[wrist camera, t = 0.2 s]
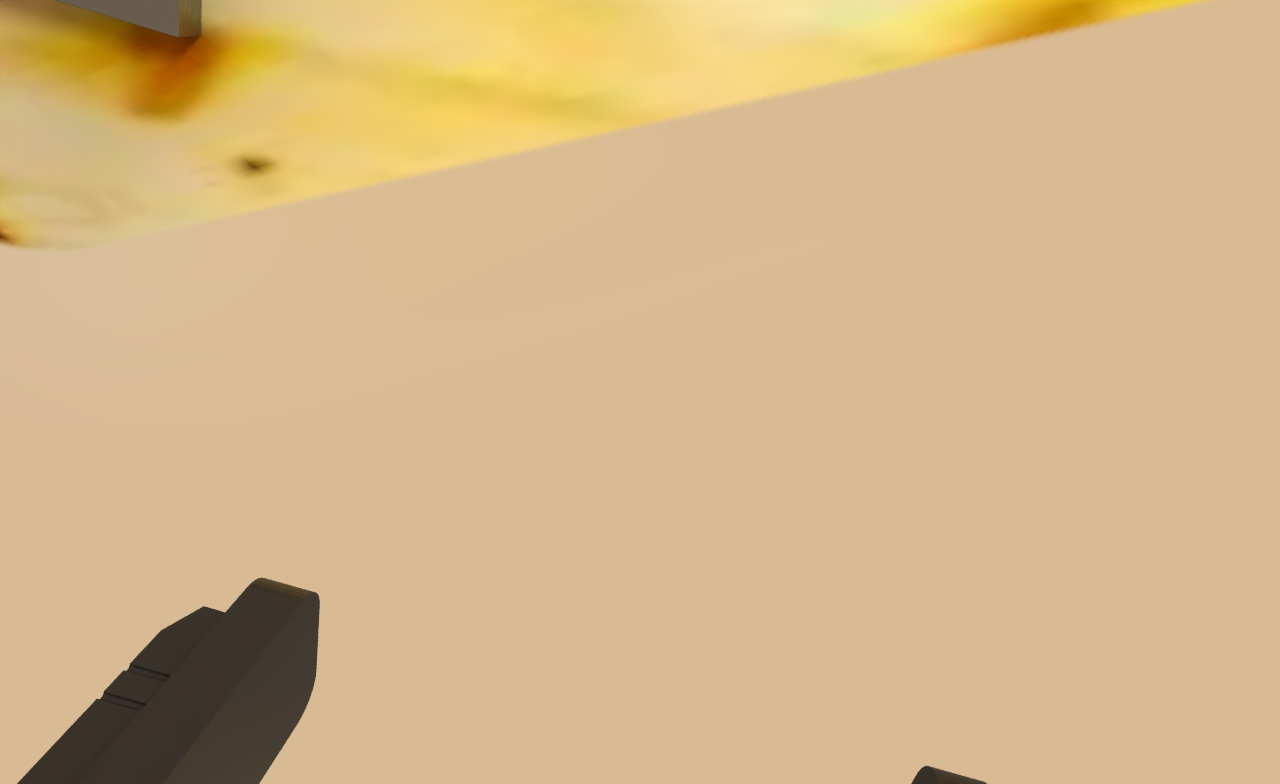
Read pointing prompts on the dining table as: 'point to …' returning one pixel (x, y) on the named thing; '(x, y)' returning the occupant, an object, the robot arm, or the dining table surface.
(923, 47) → the dining table surface
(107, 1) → the housing base
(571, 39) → the dining table surface
